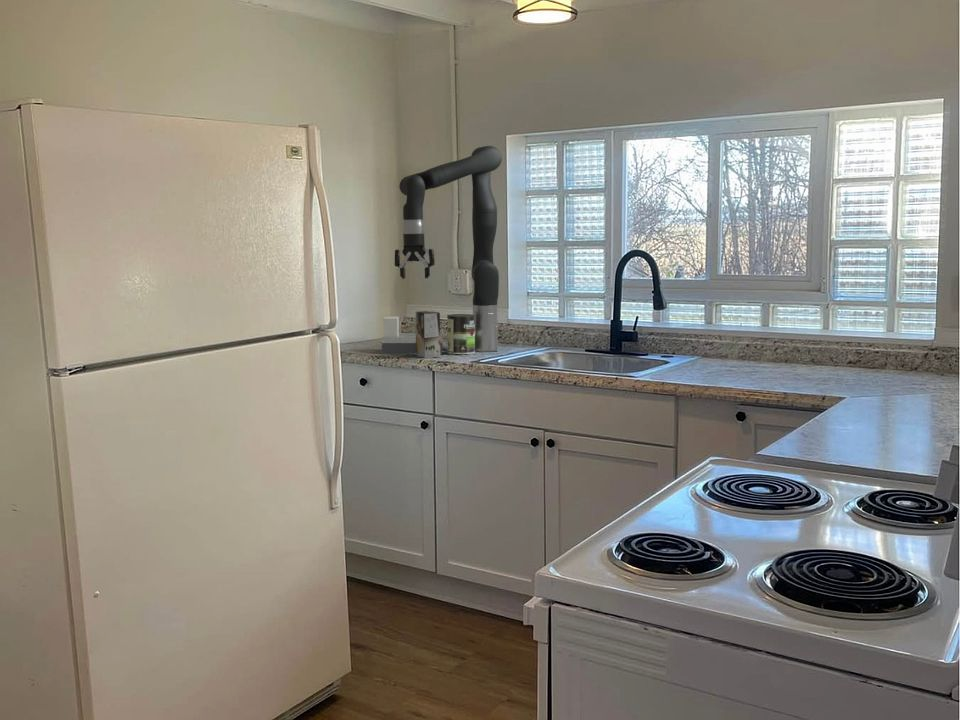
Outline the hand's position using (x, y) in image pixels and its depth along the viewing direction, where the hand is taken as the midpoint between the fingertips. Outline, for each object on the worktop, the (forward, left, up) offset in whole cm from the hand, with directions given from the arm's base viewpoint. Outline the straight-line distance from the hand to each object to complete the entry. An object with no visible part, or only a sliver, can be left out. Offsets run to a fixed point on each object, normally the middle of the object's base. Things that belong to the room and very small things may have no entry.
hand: (415, 278), depth 324 cm
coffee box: (-5, +3, -28) cm, 29 cm away
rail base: (+1, -11, -28) cm, 30 cm away
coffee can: (-17, -6, -28) cm, 33 cm away
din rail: (+1, -11, -24) cm, 26 cm away
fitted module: (+9, -11, -23) cm, 27 cm away
